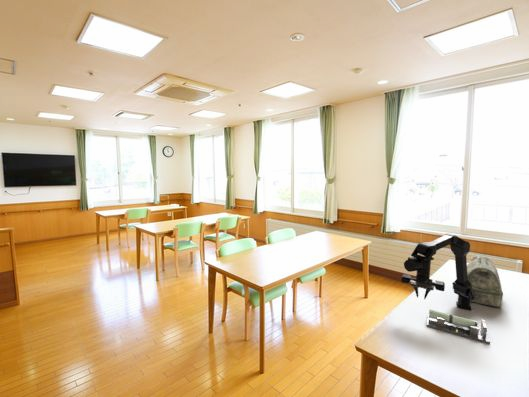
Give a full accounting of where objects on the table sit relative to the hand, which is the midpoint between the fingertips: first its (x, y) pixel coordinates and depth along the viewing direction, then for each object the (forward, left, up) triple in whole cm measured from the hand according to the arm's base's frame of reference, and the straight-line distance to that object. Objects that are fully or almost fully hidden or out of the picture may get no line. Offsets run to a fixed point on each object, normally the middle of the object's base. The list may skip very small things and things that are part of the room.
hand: (421, 298), depth 138 cm
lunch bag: (-47, +28, -11) cm, 56 cm away
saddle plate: (0, +16, -11) cm, 19 cm away
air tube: (0, +13, -7) cm, 15 cm away
